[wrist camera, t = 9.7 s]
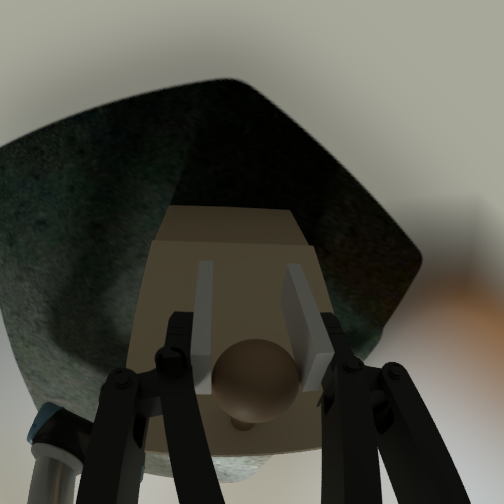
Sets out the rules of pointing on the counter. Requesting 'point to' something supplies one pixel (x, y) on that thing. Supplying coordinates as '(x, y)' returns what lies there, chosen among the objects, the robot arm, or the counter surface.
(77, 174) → the counter surface
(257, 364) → the flap
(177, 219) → the carton
